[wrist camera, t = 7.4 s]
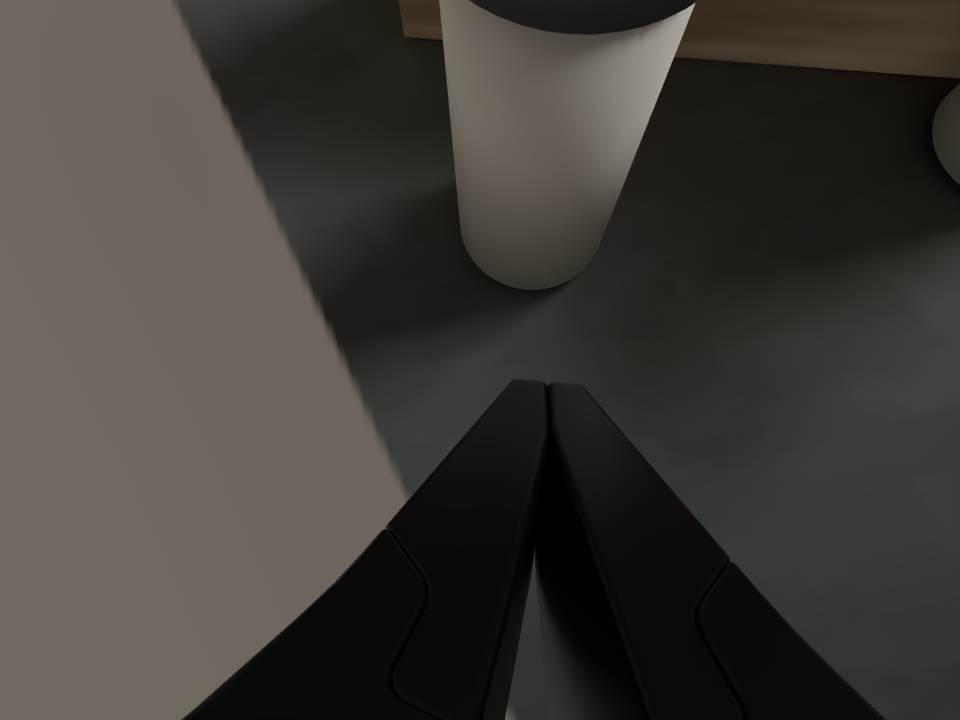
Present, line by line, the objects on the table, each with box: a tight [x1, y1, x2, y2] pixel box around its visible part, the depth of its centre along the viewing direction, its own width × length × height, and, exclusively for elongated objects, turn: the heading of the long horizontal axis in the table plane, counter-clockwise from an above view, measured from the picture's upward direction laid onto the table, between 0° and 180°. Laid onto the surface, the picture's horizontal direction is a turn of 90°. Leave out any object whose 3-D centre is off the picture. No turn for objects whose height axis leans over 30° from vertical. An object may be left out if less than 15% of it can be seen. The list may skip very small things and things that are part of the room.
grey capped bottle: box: [439, 0, 699, 290], centre depth 16 cm, size 5×5×14 cm
